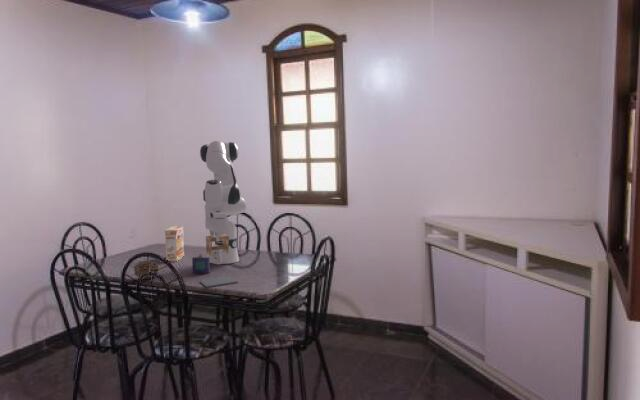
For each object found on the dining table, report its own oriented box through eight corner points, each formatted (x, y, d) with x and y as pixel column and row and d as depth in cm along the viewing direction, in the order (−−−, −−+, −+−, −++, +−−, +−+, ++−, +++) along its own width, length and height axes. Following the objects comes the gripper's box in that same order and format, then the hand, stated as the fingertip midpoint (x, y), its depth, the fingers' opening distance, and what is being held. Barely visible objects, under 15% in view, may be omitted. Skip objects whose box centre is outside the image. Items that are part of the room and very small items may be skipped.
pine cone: (141, 283, 236) (140, 264, 235) (129, 280, 241) (128, 262, 240) (175, 273, 255) (175, 255, 254) (164, 271, 260) (163, 253, 259)
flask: (210, 272, 257) (209, 253, 256) (209, 273, 255) (208, 254, 253) (193, 272, 257) (192, 253, 255) (192, 274, 254) (191, 254, 253)
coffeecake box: (177, 261, 282) (176, 230, 280) (165, 261, 282) (164, 230, 280) (184, 256, 297) (183, 226, 295) (173, 256, 297) (172, 226, 295)
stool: (224, 234, 239) (205, 236, 234) (228, 236, 235) (209, 238, 229) (225, 251, 240) (206, 253, 235) (229, 253, 236) (209, 256, 230)
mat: (229, 277, 246) (229, 276, 246) (237, 282, 236) (237, 281, 236) (199, 282, 237) (199, 280, 237) (206, 287, 228) (206, 286, 228)
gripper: (201, 210, 240) (202, 237, 241) (214, 215, 222) (215, 243, 224) (213, 210, 243) (214, 236, 244) (227, 214, 226) (228, 242, 227)
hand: (215, 239), depth 234 cm, fingers closed on stool, 5 cm apart
